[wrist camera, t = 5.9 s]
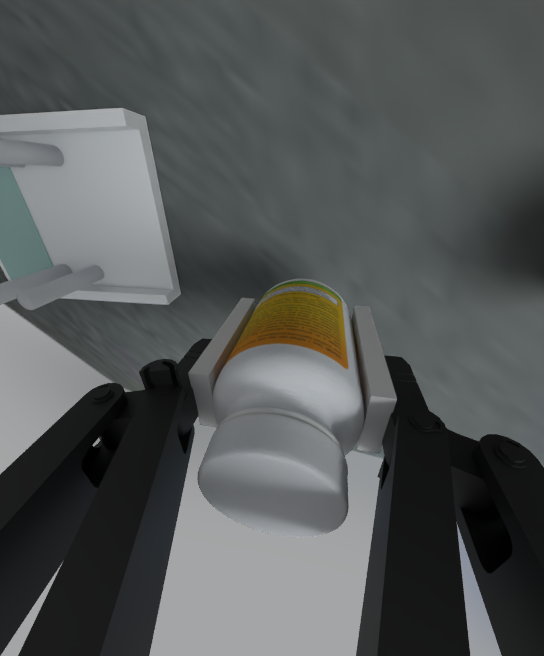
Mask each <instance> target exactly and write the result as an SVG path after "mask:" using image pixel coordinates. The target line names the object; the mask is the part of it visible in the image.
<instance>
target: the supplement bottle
mask: <svg viewBox="0 0 544 656" xmlns="http://www.w3.org/2000/svg"><path fill="white" fill-rule="evenodd" d="M212 408H213V413H214V417H215V420H216V422H217V425H218V427H217V429H216V431H215V433H214V434H213V436H212V438H211V441H210V443H209V446H208V448H207V451H206V453H205V455H204V458H203V461H202V463H201V465H200V468H199V471H198V485H199V488H200V490H201V492H202V494H203V495H204V497H205V498H206V499H207V500H208V502H209V503H210V504H212V506H213V507H215V508H216V509H217V510H218V511H220V512H222V513H223V514H224V515H226V516H227V517H229V518H231V519H233V520H234V521H236V522H239V523H241V524H243V525H245V526H247V527H250V528H253V529H255V530H259V531H262V532H266V533H270V534H274V535H280V536H288V537H313V536H319V535H323V534H326V533H329V532H331V531H333V530H335V529H337V528H338V527H339V526H340V525H341V524H342V523H343V522H344V520H345V519H346V516H347V513H348V486H347V485H348V483H347V475H348V468H347V463H346V459H345V455H346V454H348V453H349V452H350V451H351V450H352V449H353V447H354V446H355V445H356V443H357V442H358V440H359V438H360V436H361V433H362V431H363V426H364V402H363V394H362V388H361V382H360V375H359V369H358V362H357V355H356V348H355V341H354V334H353V328H352V322H351V317H350V313H349V310H348V307H347V305H346V303H345V302H344V300H343V299H342V297H341V296H340V295H339V294H338V293H337V292H336V291H335V290H333V289H332V288H330V287H329V286H327V285H325V284H323V283H321V282H319V281H316V280H311V279H304V278H299V279H291V280H287V281H284V282H281V283H279V284H277V285H275V286H274V287H272V288H271V289H270V290H268V291H267V292H266V293H265V295H264V296H263V297H262V298H261V300H260V301H259V303H258V305H257V307H256V308H255V310H254V312H253V314H252V316H251V318H250V320H249V321H248V323H247V325H246V327H245V329H244V331H243V333H242V334H241V336H240V338H239V340H238V342H237V343H236V345H235V347H234V349H233V351H232V352H231V354H230V356H229V358H228V360H227V361H226V363H225V365H224V367H223V369H222V371H221V372H220V375H219V377H218V379H217V381H216V384H215V387H214V391H213V397H212Z"/></svg>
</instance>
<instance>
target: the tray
mask: <svg viewBox="0 0 544 656" xmlns="http://www.w3.org/2000/svg"><path fill="white" fill-rule="evenodd" d="M0 266H1V268H2V270H3V272H4V273H5V275H6V277H7V279H8V281H7V282H4V283H1V284H0V305H1V304H3V303H6V302H9V301H11V300H14V299H16V298H17V300H18V302H19V303H20V304H21V305H22V306H23V307H24V308H26V309H28V310H34V309H36V308H39V307H41V306H43V305H45V304H48V303H50V302H52V301H54V300H56V299H59V298H65V299H81V300H97V301H113V302H130V303H146V304H162V305H169V304H170V303H171V302H172V301H174V300H175V299H176V298H177V297H178V296H180V295H181V291H180V286H179V281H178V276H177V271H176V266H175V261H174V256H173V251H172V246H171V241H170V236H169V231H168V226H167V222H166V217H165V212H164V207H163V202H162V197H161V192H160V187H159V182H158V177H157V172H156V167H155V162H154V157H153V152H152V147H151V142H150V137H149V132H148V127H147V122H146V117H145V116H143V115H140V114H138V113H135V112H132V111H129V110H127V109H124V108H111V109H94V110H77V111H61V112H44V113H27V114H10V115H0Z"/></svg>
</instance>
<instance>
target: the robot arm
mask: <svg viewBox="0 0 544 656" xmlns="http://www.w3.org/2000/svg"><path fill="white" fill-rule="evenodd" d="M254 310H255V299H252V298H241V300H240V301H239V302H238V304H237V305H236V307H235V308H234V309H233V311H232V312H231V314H230V315H229V317H228V318H227V319H226V321H225V322H224V324H223V325H222V326H221V328H220V329H219V331H218V332H217V333H216V335H215V336H214V338H213V339H201V340H200V341H198V342H196V343H195V344H194V345H193V346H192V347H191V348H190V350H189V352H187V353H186V355H185V356H184V358H182V360H181V361H180V362H179V363H178V364H177V363H176V362H175V361H173V360H171V359H162V360H156V361H154V362H151V363H149V364H147V365H146V366H144V367H143V368H142V369H141V370H140V372H139V373H140V376H141V378H142V381H143V384H144V387H145V390H141V391H133V392H125V391H124V389H123V387H122V386H121V385H120V384H117V383H107V384H104V385H101V386H98V387H96V388H94V389H92V390H91V391H89V392H88V393H87V394H86V395H84V396H83V397H82V398H81V399H80V400H79V401H78V402H77V403H76V404H75V405H74V406H73V407H72V408H71V409H70V410H68V411H67V412H66V413H65V414H64V415H63V416H62V417H61V418H60V419H59V420H58V421H57V422H56V423H55V424H54V425H52V427H51V428H49V429H48V430H47V431H46V432H45V433H44V434H43V435H42V436H41V437H40V438H39V439H38V440H37V441H35V443H33V444H32V445H31V446H30V447H29V448H28V449H27V450H26V451H25V452H24V453H23V454H22V455H21V456H19V458H17V459H16V460H15V461H14V462H13V463H12V464H11V465H10V466H9V467H8V468H7V469H6V470H5V471H3V472H2V473H1V475H0V655H1V654H2V652H3V651H4V649H5V648H6V646H7V645H8V643H9V642H10V640H11V639H12V637H13V635H14V634H15V633H16V631H17V630H18V628H19V627H20V625H21V624H22V622H23V621H24V619H25V618H26V616H27V615H28V613H29V611H30V610H31V609H32V607H33V606H34V604H35V603H36V601H37V599H38V598H39V597H40V595H41V593H42V592H43V591H44V589H45V588H46V586H47V585H48V583H49V581H50V580H51V578H52V577H53V575H54V574H55V572H56V571H57V569H58V568H59V566H60V565H61V563H62V562H63V563H62V566H61V567H60V569H59V571H58V574H57V576H56V578H55V580H54V582H53V584H52V586H51V588H50V590H49V592H48V595H47V597H46V599H45V601H44V603H43V605H42V607H41V609H40V611H39V613H38V616H37V618H36V620H35V622H34V624H33V626H32V628H31V630H30V632H29V634H28V637H27V638H26V641H25V643H24V645H23V647H22V649H21V651H20V653H19V655H18V656H149V654H150V648H151V644H152V639H153V633H154V629H155V624H156V619H157V614H158V610H159V604H160V599H161V594H162V590H163V585H164V580H165V575H166V570H167V566H168V561H169V556H170V550H171V546H172V541H173V536H174V531H175V526H176V521H177V517H178V512H179V506H180V502H181V497H182V492H183V487H184V482H185V478H186V473H187V468H188V463H189V458H190V453H191V448H192V443H193V438H194V434H195V433H194V425H193V424H194V422H195V420H196V418H197V417H199V421H200V425H204V426H211V427H218V425H217V422H216V420H215V417H214V413H213V408H212V397H213V391H214V387H215V384H216V381H217V379H218V377H219V375H220V372H221V371H222V369H223V367H224V365H225V363H226V361H227V360H228V358H229V356H230V354H231V352H232V351H233V349H234V347H235V345H236V343H237V342H238V340H239V338H240V336H241V334H242V333H243V331H244V329H245V327H246V325H247V323H248V321H249V320H250V318H251V316H252V314H253V312H254ZM351 322H352V328H353V334H354V341H355V348H356V355H357V362H358V369H359V375H360V382H361V388H362V394H363V402H364V426H363V431H362V433H361V436H360V438H359V440H358V442H357V450H361V451H368V452H374V453H380V450H381V447H382V444H383V449H384V454H385V457H384V459H383V462H382V465H381V468H380V471H379V474H378V477H379V478H380V481H379V489H378V496H377V505H376V511H375V519H374V527H373V534H372V541H371V549H370V556H369V563H368V571H367V578H366V586H365V594H364V602H363V608H362V616H361V624H360V631H359V638H358V646H357V653H356V656H470V649H469V640H468V630H467V620H466V611H465V601H464V591H463V582H462V571H461V561H460V552H459V542H458V534H457V533H458V532H457V524H458V527H459V530H460V533H461V536H462V539H463V542H464V545H465V548H466V551H467V554H468V557H469V560H470V563H471V566H472V568H473V572H474V574H475V578H476V581H477V583H478V586H479V589H480V592H481V595H482V598H483V601H484V604H485V607H486V610H487V613H488V616H489V619H490V622H491V625H492V628H493V631H494V633H495V636H496V640H497V643H498V646H499V649H500V652H501V655H502V656H544V468H543V466H542V465H541V463H540V462H539V460H538V459H537V458H536V457H535V456H534V455H533V454H532V453H531V452H530V451H529V450H528V449H526V448H525V447H524V446H522V445H521V444H520V443H518V442H516V441H514V440H512V439H510V438H508V437H504V436H501V435H497V434H488V435H486V436H483V437H482V438H481V439H480V441H479V442H478V441H476V440H473V439H470V438H468V437H465V436H462V435H460V434H457V433H455V432H452V431H450V430H448V429H447V428H446V427H445V424H444V423H443V422H442V421H441V419H440V418H439V417H438V416H436V415H435V414H433V413H432V412H430V411H429V410H428V407H427V405H426V402H425V400H424V398H423V395H422V393H421V391H420V388H419V386H418V384H417V383H416V382H417V381H416V379H415V376H413V372H412V369H411V367H410V365H409V364H408V363H407V362H406V361H405V360H404V359H403V358H402V357H395V356H384V354H383V351H382V347H381V344H380V341H379V337H378V334H377V331H376V327H375V324H374V321H373V318H372V314H371V311H370V308H369V306H356V305H354V309H353V315H352V321H351ZM98 438H99V439H100V442H99V443H98V444H97V445H95V446H94V447H93V446H92V445H93V444H94V442H95V441H96V440H97V439H98ZM456 521H457V523H456ZM63 560H64V561H63Z"/></svg>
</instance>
